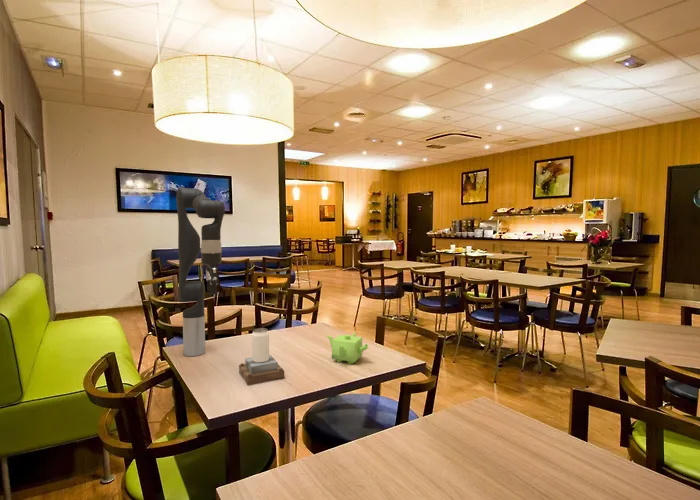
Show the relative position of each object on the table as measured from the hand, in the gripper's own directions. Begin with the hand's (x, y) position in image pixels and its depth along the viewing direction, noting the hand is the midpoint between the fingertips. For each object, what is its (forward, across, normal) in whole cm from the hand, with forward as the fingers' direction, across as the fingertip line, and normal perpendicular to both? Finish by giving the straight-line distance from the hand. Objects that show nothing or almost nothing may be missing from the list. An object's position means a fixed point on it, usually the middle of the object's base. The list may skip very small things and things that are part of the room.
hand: (212, 292), depth 151 cm
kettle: (+32, +12, +54) cm, 64 cm away
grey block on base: (+32, +12, +16) cm, 38 cm away
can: (+26, +12, +16) cm, 33 cm away
